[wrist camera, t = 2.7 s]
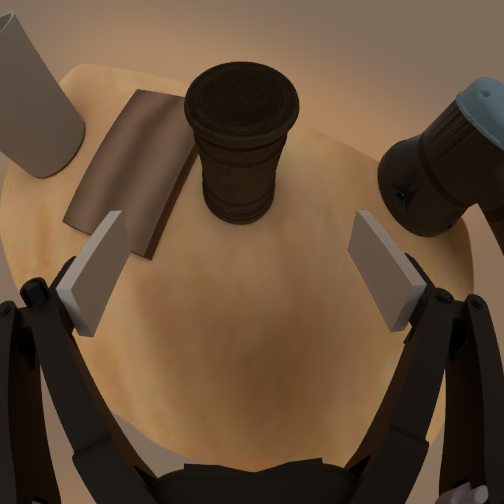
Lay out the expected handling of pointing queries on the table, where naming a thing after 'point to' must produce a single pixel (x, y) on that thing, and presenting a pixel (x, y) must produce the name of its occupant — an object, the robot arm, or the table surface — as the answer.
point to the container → (240, 135)
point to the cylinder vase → (33, 107)
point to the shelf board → (137, 170)
